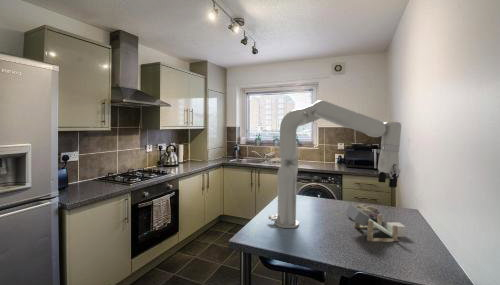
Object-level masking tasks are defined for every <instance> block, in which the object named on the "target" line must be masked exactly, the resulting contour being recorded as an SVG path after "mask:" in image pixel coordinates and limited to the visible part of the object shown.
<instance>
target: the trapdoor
mask: <svg viewBox="0 0 500 285" xmlns="http://www.w3.org/2000/svg"><path fill="white" fill-rule="evenodd" d="M347 207H348V208H347ZM347 207H346V210H345V212H344V213H346V215H347V216H349V218H350V219H352V221H354V223H355V222H357V223H359V224H360V226H364V227H365V226H367V224H368V221H373V226H374V227H376V228H378V229H377V230H380V231H381V232H382V233H384V234H386V235H388V236H390V238H392V233H390V232H389V231H388V230H387V228H385V226H383V225H382V224H381V225H379V224H378V223H377V221H374V220H373V219H370V217H369V216H368V215H366V214H365V213H364V212H363V211H361V210H360V209H358V208H357V207H355V206H354V205H353V204H351V203H350V204H349V205H348V206H347Z"/></svg>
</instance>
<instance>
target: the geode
mask: <svg viewBox="0 0 500 285" xmlns="http://www.w3.org/2000/svg"><path fill="white" fill-rule="evenodd" d="M353 206H355V207H357V208H358V209H360V210H361V211H363V212H364V213H365V214H366V215H368V216H369V217H370V219H371V220H373V218H375V219H377V217H378V214H380V213H381V212H380V210H379V208H378V207H375V206H372V205H369V206H367V203H363V204H362V203H361V204H355V205H353ZM348 207H349V206H347V207H346V209H347V208H348Z"/></svg>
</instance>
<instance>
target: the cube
mask: <svg viewBox="0 0 500 285" xmlns="http://www.w3.org/2000/svg"><path fill="white" fill-rule="evenodd" d="M393 225H396V226H398V232H397V238H405V237H406V228H407V227H406V225H404V224H402V223H401V222H395V221H394V222H393V221H392V222H386V230H388V231H389V232H390V233H393Z"/></svg>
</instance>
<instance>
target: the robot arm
mask: <svg viewBox="0 0 500 285" xmlns="http://www.w3.org/2000/svg"><path fill="white" fill-rule="evenodd" d="M320 119H322V120H324V121H327V122H329V123H333V124H334V125H337V126H340V127H343V128H348V129H352V130H355V131H357V132H360V133H363V134H365V135H366V136H369V137H372V138H380V137H381V141H380V152H379V155H378V160H377V162H378V163H377V170H378V183H386V177H387V174H389V180H388V181H389V183H388V187H389V188H395V189H396V188H397V187H398V180H399V177H400V173H401V169H400V168H399V165H400V163H399V162H400V156H399V155H400V154H399V153H400V145H401V133H402V123H400V122H399V121H385V122H384V121H382V120H380V119H376V118H373V117H370V116H368V115H365V114H363V113H360V112H356V111H355V110H354V111H353V110H351V109H349V108H346V107H343V106H340V105H338V104H335V103H332V102H329V101H327V100H323V99H321V100H317V101H315V102H314V103H313V104H311V105H309V106H306V107H304V108H295V109H292V110H291V111H289V112H287V113H286V114H285V115H284V116H283V117H282V119H281V122H280V126H279V138H278V140H279V141H278V142H279V143H278V144H279V145H278V146H279V148H278V155H279V157H280V166H279V168H278V170H277V175H276V176H277V213H276V214H274V215H268V220H270V221H271V222H273V221H274V225H275V226H276V227H279V228H282V229H294V228H297V227H299V225H300V223H299V220H297V178H298V177H297V176H298V172H299V148H298V145H297V129H298V128H299V127H301V126H304V125H307V124H309V123H313V122H315V121H318V120H320Z"/></svg>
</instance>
